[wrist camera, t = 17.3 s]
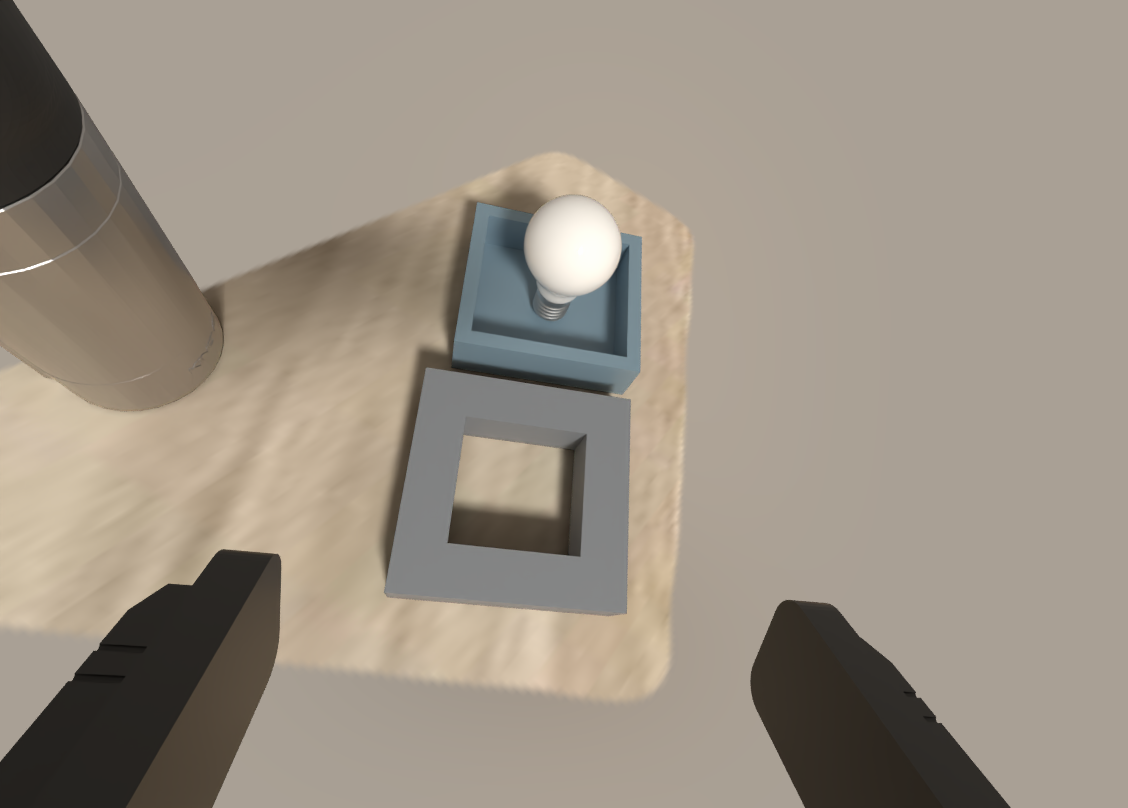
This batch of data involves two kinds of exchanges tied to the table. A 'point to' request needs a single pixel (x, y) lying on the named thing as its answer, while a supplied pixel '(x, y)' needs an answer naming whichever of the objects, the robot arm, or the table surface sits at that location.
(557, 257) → the lightbulb
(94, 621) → the table surface
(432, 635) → the table surface
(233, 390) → the table surface
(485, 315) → the parts tray
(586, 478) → the socket block
